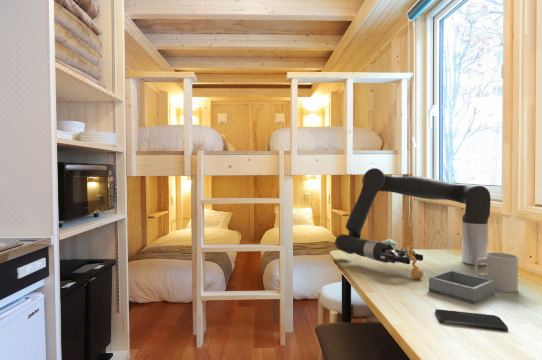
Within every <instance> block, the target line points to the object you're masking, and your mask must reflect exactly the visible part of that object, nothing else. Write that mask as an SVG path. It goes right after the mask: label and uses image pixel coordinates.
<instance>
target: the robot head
mask: <svg viewBox="0 0 542 360" xmlns="http://www.w3.org/2000/svg"><path fill="white" fill-rule="evenodd" d="M382 242H383V243H388V244H390V245H391V246H392V247H393V249H397V247H398V245H399V244H398V242H395V241H394V240H393V239H391V238H387V239H386V240H383V241H382Z"/></svg>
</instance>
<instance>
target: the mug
mask: <svg viewBox="0 0 542 360" xmlns="http://www.w3.org/2000/svg"><path fill="white" fill-rule="evenodd" d="M481 262H483V263H486V264H487V265H486V273H480V270H479V265H478V264H479V263H481ZM518 268H519V258H518V256H516V255H515V254H511V253H506V252H497V251H495V252H493V251H492V252H488V253H487V258H479V259H477V260H476V262H475V265H474V272H475V276H477V277H482V278H486V279H491V280H494V291H495V292H501V293H509V294H510V293H517V292H518V289H519V283H518V282H519V275H518V272H519V269H518Z"/></svg>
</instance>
